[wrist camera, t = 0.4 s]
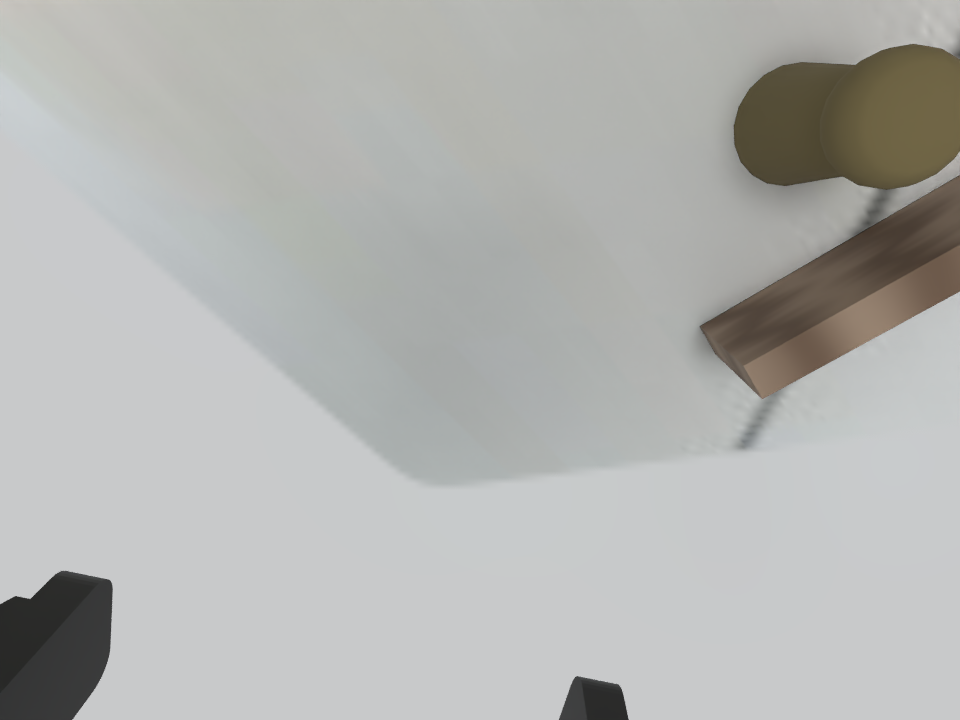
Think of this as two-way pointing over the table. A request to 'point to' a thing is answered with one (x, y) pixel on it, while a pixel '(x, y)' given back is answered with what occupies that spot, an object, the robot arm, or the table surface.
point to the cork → (854, 120)
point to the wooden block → (844, 295)
